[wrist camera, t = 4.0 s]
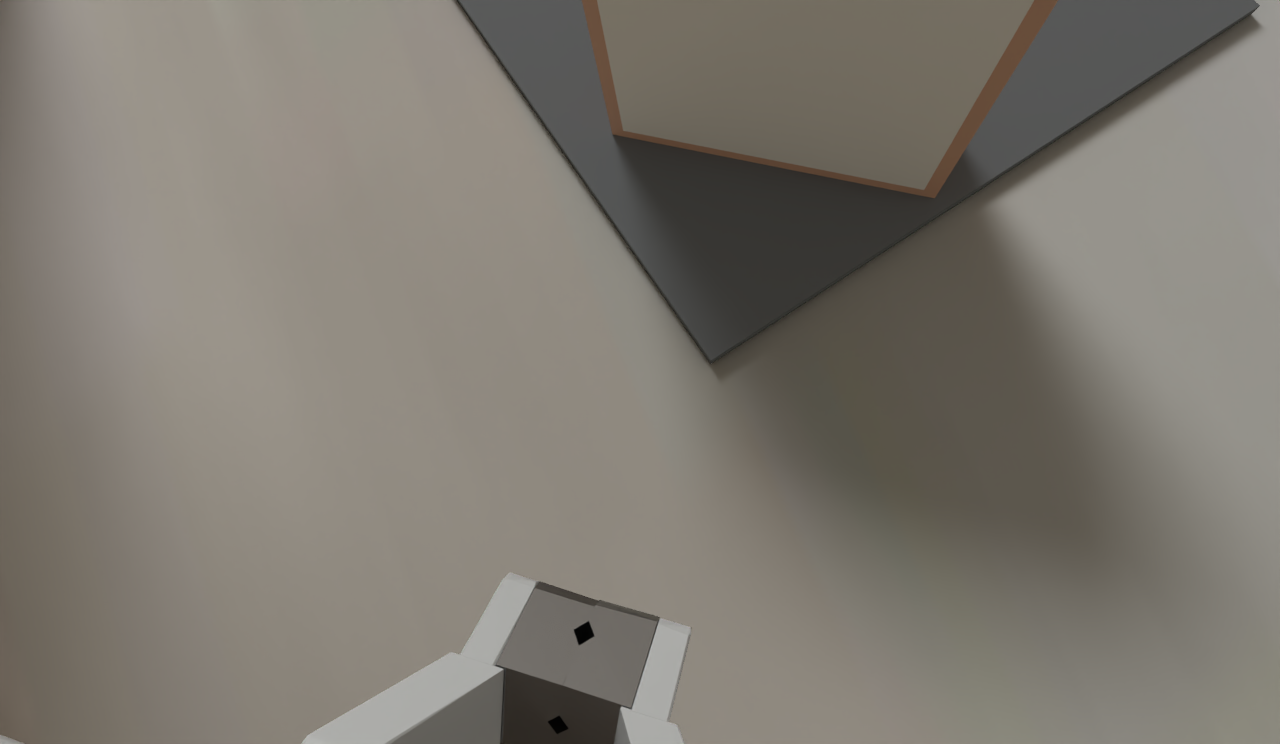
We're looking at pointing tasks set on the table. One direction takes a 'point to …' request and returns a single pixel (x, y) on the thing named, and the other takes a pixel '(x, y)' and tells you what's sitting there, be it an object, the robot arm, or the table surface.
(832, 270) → the mat
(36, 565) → the table surface
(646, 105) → the tile
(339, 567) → the table surface
